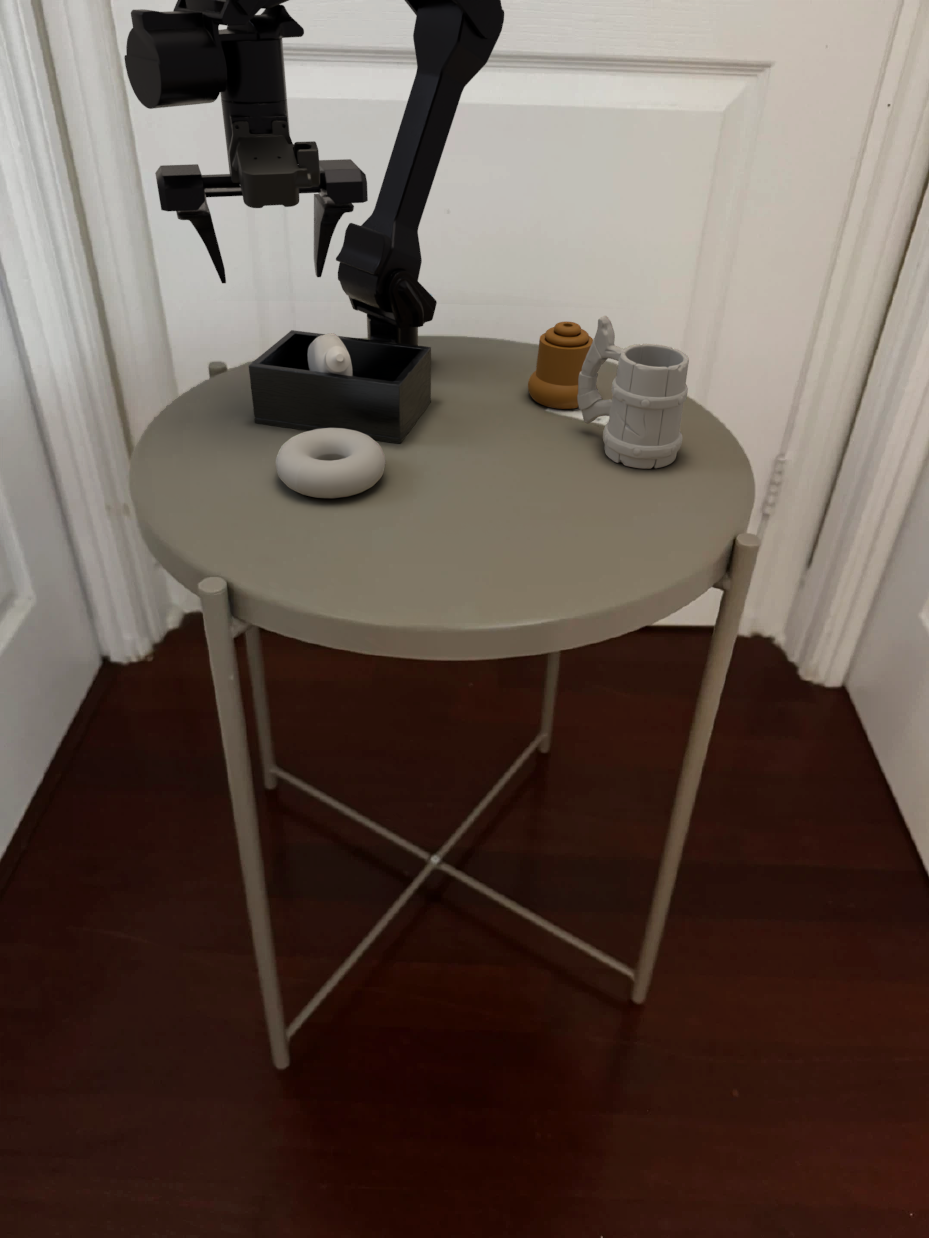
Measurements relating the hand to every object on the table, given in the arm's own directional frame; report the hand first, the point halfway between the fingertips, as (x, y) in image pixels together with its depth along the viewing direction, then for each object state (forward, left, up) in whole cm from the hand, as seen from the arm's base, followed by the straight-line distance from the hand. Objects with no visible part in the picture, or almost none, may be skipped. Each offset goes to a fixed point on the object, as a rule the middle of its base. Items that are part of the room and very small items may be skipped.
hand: (271, 279), depth 92 cm
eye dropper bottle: (-3, +4, -10) cm, 11 cm away
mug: (-1, +36, -13) cm, 38 cm away
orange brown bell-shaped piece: (-11, +28, -13) cm, 33 cm away
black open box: (0, +7, -13) cm, 15 cm away
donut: (+14, +11, -13) cm, 22 cm away
